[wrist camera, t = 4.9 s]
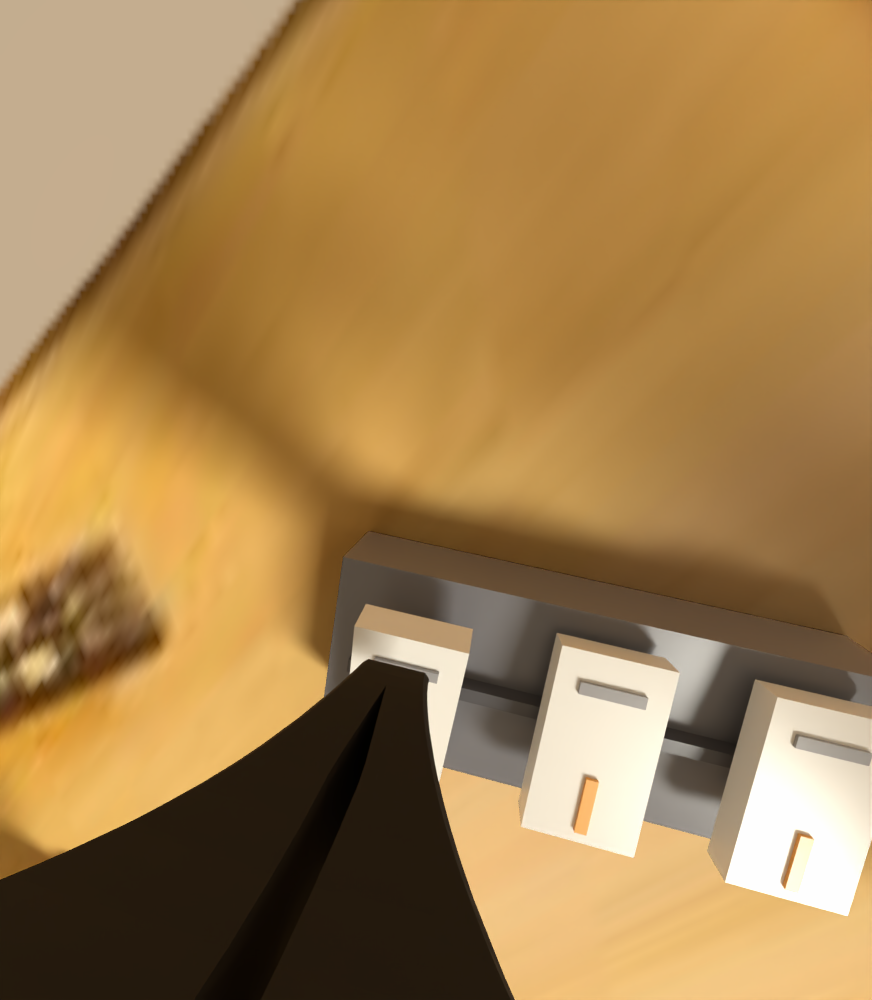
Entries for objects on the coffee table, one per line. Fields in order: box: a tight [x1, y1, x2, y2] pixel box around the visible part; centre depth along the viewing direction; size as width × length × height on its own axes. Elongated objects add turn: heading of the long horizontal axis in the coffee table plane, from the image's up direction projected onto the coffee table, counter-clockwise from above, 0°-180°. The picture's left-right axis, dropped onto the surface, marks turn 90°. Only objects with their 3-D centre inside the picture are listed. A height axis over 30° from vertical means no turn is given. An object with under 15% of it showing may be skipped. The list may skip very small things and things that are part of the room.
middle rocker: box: [518, 633, 680, 858], centre depth 11 cm, size 3×5×1 cm, turn 170°
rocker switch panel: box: [324, 531, 872, 839], centre depth 14 cm, size 15×6×3 cm, turn 80°
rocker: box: [707, 679, 872, 916], centre depth 11 cm, size 3×5×1 cm, turn 170°
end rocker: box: [350, 604, 473, 781], centre depth 12 cm, size 3×5×1 cm, turn 170°
